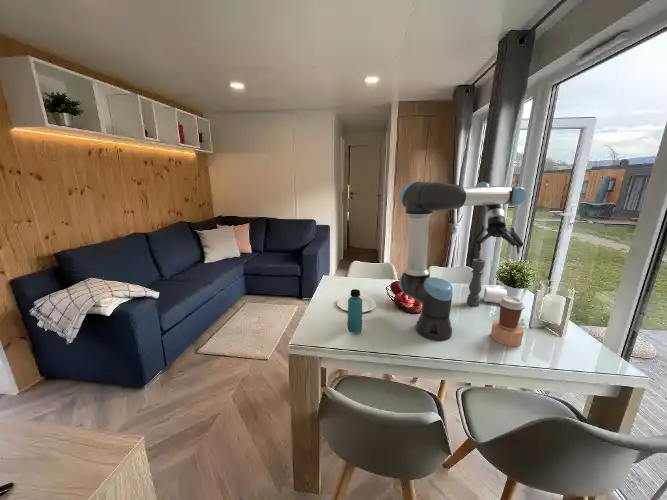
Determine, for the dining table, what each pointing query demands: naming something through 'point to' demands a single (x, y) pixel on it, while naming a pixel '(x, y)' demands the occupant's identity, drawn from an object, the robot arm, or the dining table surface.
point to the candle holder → (475, 283)
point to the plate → (344, 300)
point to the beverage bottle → (355, 312)
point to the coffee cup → (510, 312)
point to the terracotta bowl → (506, 334)
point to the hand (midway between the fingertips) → (498, 258)
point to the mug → (494, 294)
